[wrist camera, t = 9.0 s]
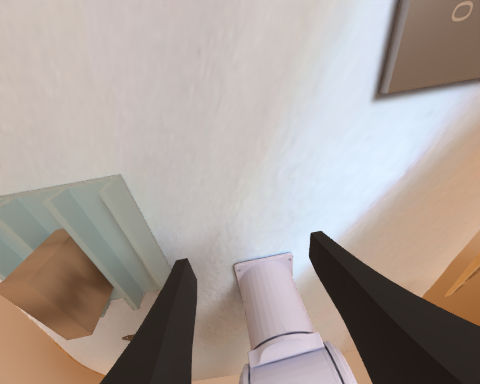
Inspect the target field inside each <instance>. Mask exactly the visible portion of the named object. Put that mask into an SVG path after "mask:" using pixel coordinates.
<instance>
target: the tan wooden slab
mask: <svg viewBox="0 0 480 384" xmlns="http://www.w3.org/2000/svg"><path fill="white" fill-rule="evenodd" d="M113 288H114V286H113V285H112V284H111V283H110V282H109V281H108V279H107V278H106V277H105V276H104V275H103V274H102V272H101V271H100V270H99V269H98V268H97V266H96V265H95V264H94V263H93V262H92V261H91V259H90V258H89V257H88V256H87V255H86V254H85V252H84V251H83V250H82V249H81V248H80V247H79V245H78V244H77V243H76V242H75V241H74V240H73V238H72V237H71V236H70V235H69V234H68V232H67V231H66V230H65V229H64V228H63V229H57V230H55V231H54V232H53V233H52V234H51V235H50V236H49V237H48V238H47V239H46V240H45V241H44V242H43V243H42V244H41V245H40V246H39V247H37V248H36V249H35V250H34V251H33V252H32V253H31V254H30V255H29V256H28V257H27V258H26V259H25V260H24V261H23V262H22V263H21V264H20V265H19V266H18V267H17V268H16V269H15V270H14V271H13V272H12V273H11V274H10V275H9V276H8V277H6V278H5V279H4V280H3V281H2V282H1V283H0V294H1V295H2V296H3V297H5V298H6V299H8V300H9V301H11V302H12V303H14V304H15V305H16V306H18V307H19V308H21V309H22V310H24V311H25V312H27V313H28V314H30V315H31V316H33V317H34V318H35V319H37V320H38V321H40V322H41V323H43V324H44V325H46V326H47V327H49V328H50V329H52V330H53V331H54V332H56V333H57V334H59V335H60V336H62V337H63V338H65V339H66V340H70V339H75V338H79V337H84V336H89V335H92V333H93V331H94V329H95V327H96V325H97V323H98V320H99V318H100V316H101V314H102V312H103V310H104V308H105V305H106V303H107V301H108V299H109V297H110V295H111V293H112V290H113Z"/></svg>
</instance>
